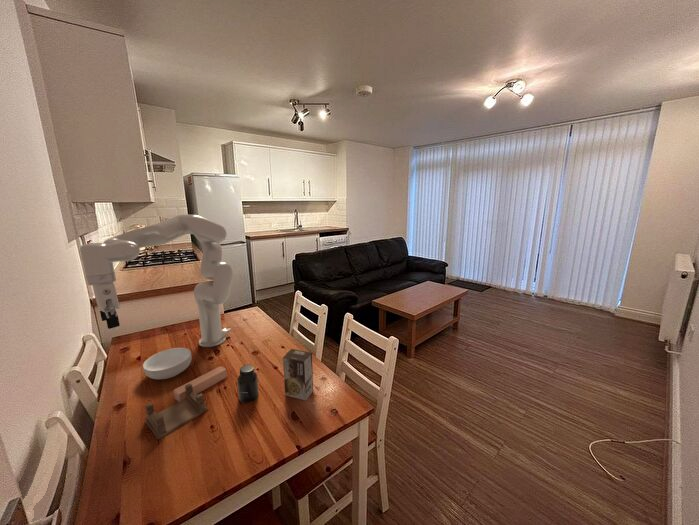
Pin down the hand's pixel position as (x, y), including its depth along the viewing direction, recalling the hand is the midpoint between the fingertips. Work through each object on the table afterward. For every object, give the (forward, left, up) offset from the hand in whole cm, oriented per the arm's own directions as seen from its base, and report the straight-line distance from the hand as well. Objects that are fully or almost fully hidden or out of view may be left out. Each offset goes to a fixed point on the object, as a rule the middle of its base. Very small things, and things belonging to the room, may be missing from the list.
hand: (110, 323), depth 99 cm
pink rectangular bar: (-19, +24, -27) cm, 41 cm away
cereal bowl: (-15, +4, -27) cm, 31 cm away
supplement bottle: (-27, +43, -27) cm, 57 cm away
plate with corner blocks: (-7, +32, -27) cm, 42 cm away
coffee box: (-40, +56, -27) cm, 74 cm away
